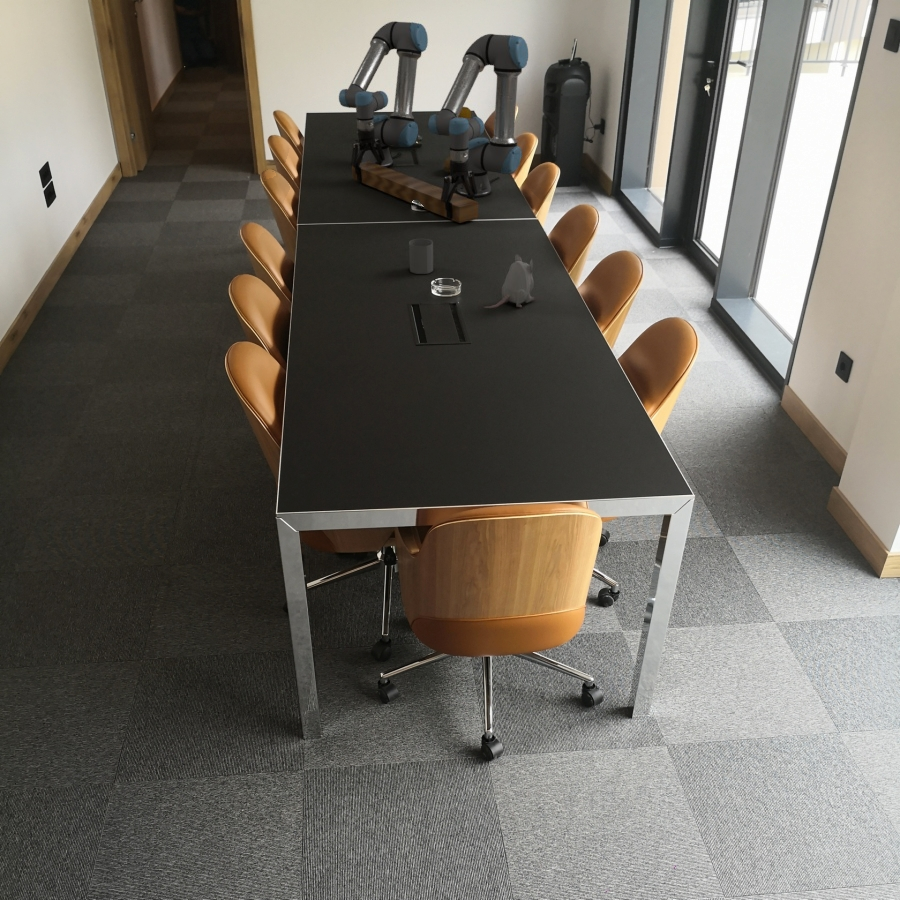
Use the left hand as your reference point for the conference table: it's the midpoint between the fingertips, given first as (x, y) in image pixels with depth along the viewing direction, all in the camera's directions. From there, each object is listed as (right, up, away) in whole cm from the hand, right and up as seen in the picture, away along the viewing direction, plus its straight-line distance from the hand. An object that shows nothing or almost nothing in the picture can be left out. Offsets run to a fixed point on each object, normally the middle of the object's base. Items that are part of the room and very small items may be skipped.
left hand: (369, 179), depth 400 cm
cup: (+27, -61, -92) cm, 114 cm away
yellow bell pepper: (+44, +56, +91) cm, 115 cm away
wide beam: (+21, -15, -22) cm, 34 cm away
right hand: (+41, -29, -45) cm, 68 cm away
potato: (+39, +7, +15) cm, 42 cm away
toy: (+56, -79, -120) cm, 154 cm away
